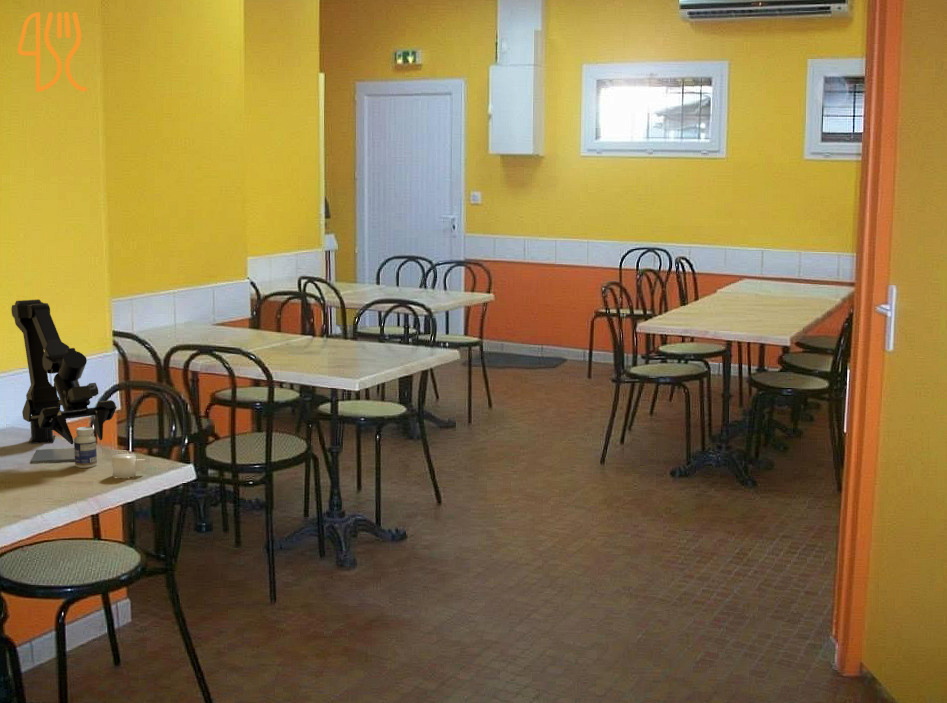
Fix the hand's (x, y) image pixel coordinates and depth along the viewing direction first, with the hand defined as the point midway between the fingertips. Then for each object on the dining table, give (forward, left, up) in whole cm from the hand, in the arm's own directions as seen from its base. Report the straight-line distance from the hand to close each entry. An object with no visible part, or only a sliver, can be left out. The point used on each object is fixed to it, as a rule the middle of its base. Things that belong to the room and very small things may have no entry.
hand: (87, 441), depth 298 cm
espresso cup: (+11, +11, -7) cm, 16 cm away
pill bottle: (-1, -1, -7) cm, 7 cm away
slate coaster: (-12, -9, -7) cm, 16 cm away
